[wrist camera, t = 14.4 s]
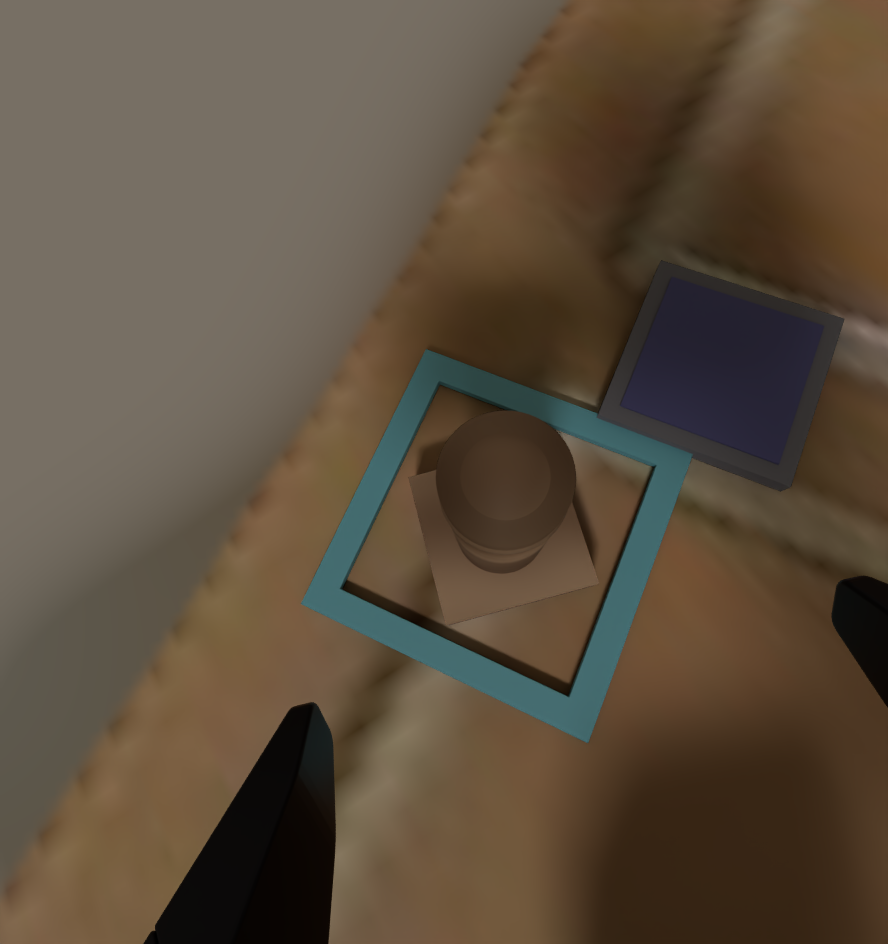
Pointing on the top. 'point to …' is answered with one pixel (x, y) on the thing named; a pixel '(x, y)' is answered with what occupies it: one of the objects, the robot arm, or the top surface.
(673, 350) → the ink pad
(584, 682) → the frame
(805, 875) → the top surface
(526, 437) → the stamp
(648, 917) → the top surface
